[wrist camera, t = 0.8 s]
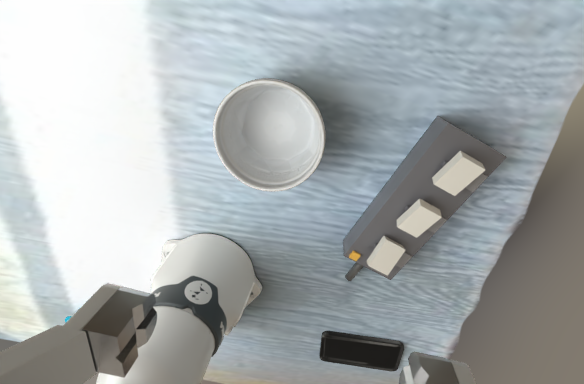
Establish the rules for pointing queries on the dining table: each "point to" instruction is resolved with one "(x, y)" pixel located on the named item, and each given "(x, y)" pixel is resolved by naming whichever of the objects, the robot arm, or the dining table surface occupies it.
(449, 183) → the block
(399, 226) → the rocker
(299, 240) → the dining table surface
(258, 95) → the ramekin
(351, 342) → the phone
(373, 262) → the rocker
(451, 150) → the power strip
